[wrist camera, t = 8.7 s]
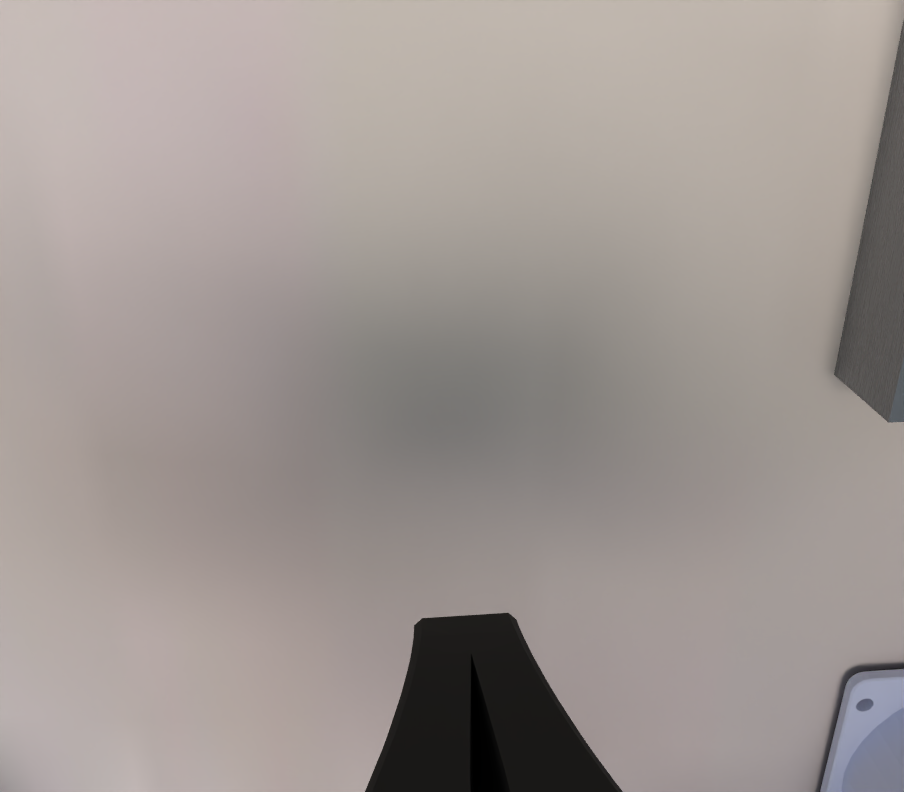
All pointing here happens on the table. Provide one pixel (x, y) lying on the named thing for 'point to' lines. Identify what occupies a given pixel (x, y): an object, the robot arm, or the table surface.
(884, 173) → the steel slab
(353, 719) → the table surface
